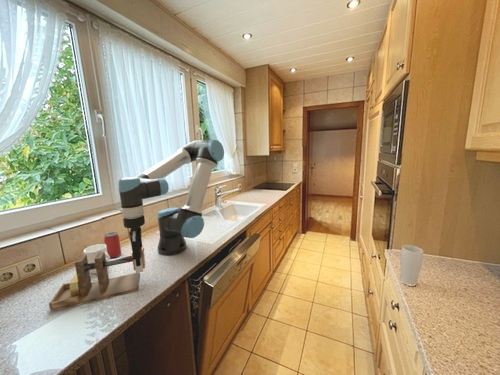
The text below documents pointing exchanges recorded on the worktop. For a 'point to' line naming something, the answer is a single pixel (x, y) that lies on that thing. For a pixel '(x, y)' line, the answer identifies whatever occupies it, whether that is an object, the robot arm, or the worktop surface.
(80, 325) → the worktop surface
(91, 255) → the mug
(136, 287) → the wooden stand
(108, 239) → the beer can
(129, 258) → the mallet
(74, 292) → the spacer
